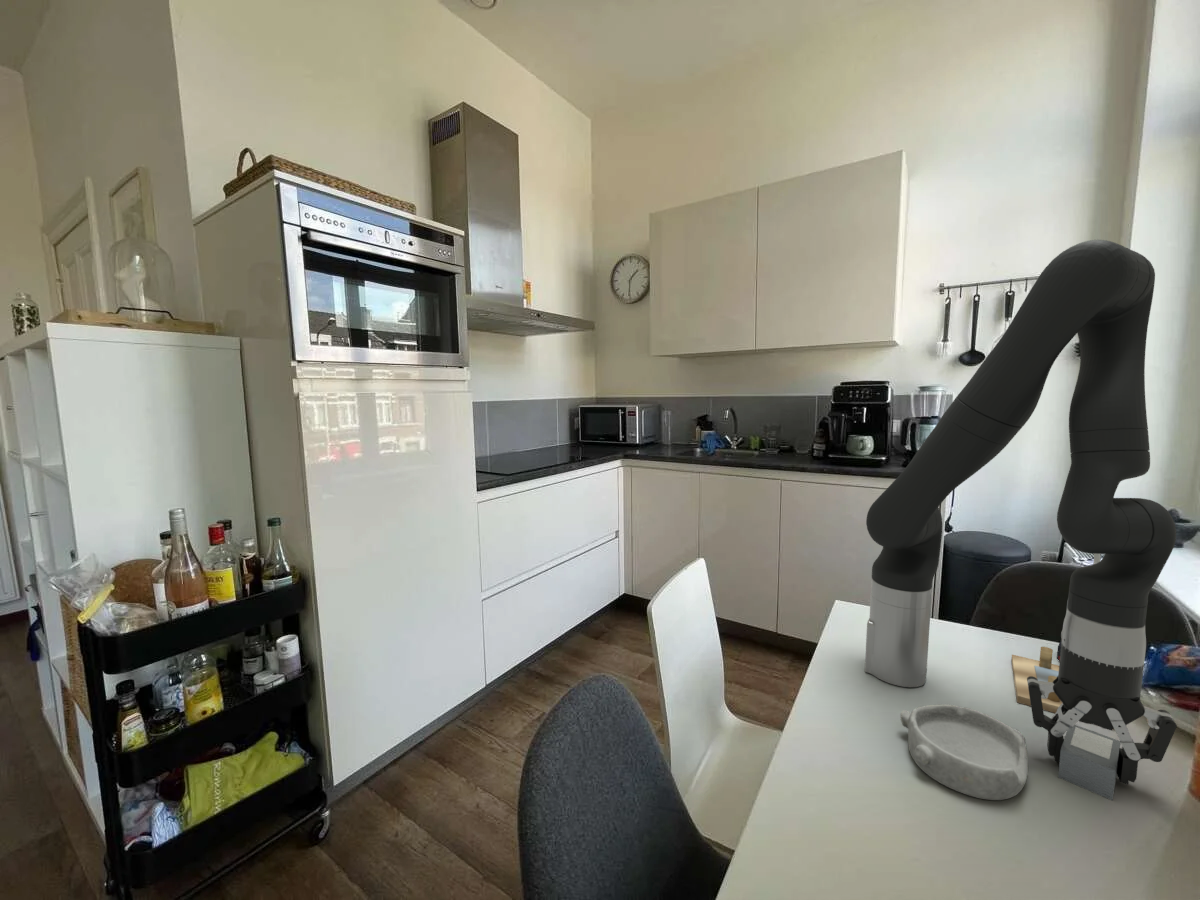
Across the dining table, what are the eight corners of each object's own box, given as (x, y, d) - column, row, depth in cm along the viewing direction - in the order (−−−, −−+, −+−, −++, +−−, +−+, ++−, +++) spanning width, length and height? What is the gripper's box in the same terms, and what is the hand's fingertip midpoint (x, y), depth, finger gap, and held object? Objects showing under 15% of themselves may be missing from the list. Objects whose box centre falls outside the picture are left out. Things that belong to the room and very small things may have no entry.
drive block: (1058, 777, 65) (1060, 748, 64) (1067, 748, 70) (1069, 722, 69) (1112, 800, 61) (1115, 770, 60) (1117, 768, 66) (1120, 740, 66)
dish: (1018, 752, 69) (1020, 719, 69) (1044, 826, 58) (1048, 787, 57) (898, 719, 77) (900, 689, 76) (900, 778, 65) (902, 743, 64)
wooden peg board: (1122, 731, 73) (1125, 702, 73) (1017, 702, 80) (1019, 675, 80) (1100, 682, 86) (1103, 656, 85) (1011, 660, 93) (1013, 636, 92)
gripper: (1030, 644, 65) (1020, 762, 67) (1196, 681, 56) (1179, 815, 58) (1025, 623, 71) (1016, 732, 73) (1175, 654, 62) (1160, 776, 64)
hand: (1089, 768), depth 65 cm, fingers closed on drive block, 5 cm apart
